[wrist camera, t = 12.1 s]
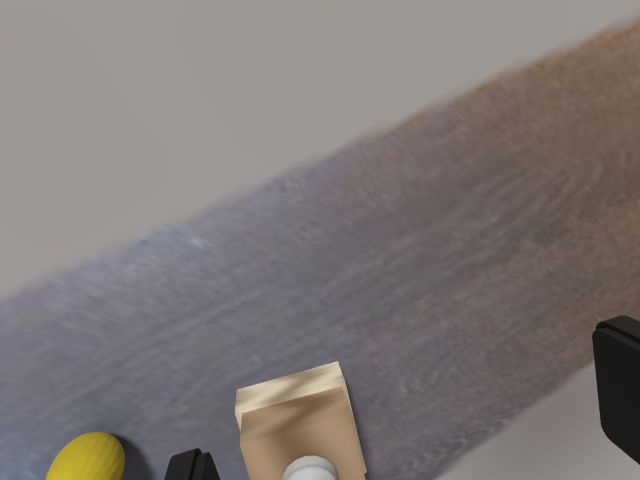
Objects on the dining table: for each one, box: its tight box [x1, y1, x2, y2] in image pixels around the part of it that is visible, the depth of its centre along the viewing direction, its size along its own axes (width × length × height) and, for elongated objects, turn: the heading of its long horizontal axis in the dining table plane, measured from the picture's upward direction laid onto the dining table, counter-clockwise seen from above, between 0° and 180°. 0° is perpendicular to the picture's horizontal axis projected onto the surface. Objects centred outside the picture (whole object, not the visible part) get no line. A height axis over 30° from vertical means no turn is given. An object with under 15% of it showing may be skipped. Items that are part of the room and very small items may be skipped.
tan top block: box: [240, 386, 365, 480], centre depth 35 cm, size 9×9×4 cm
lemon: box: [46, 431, 125, 480], centre depth 34 cm, size 6×6×8 cm
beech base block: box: [235, 361, 367, 473], centre depth 39 cm, size 10×10×4 cm
